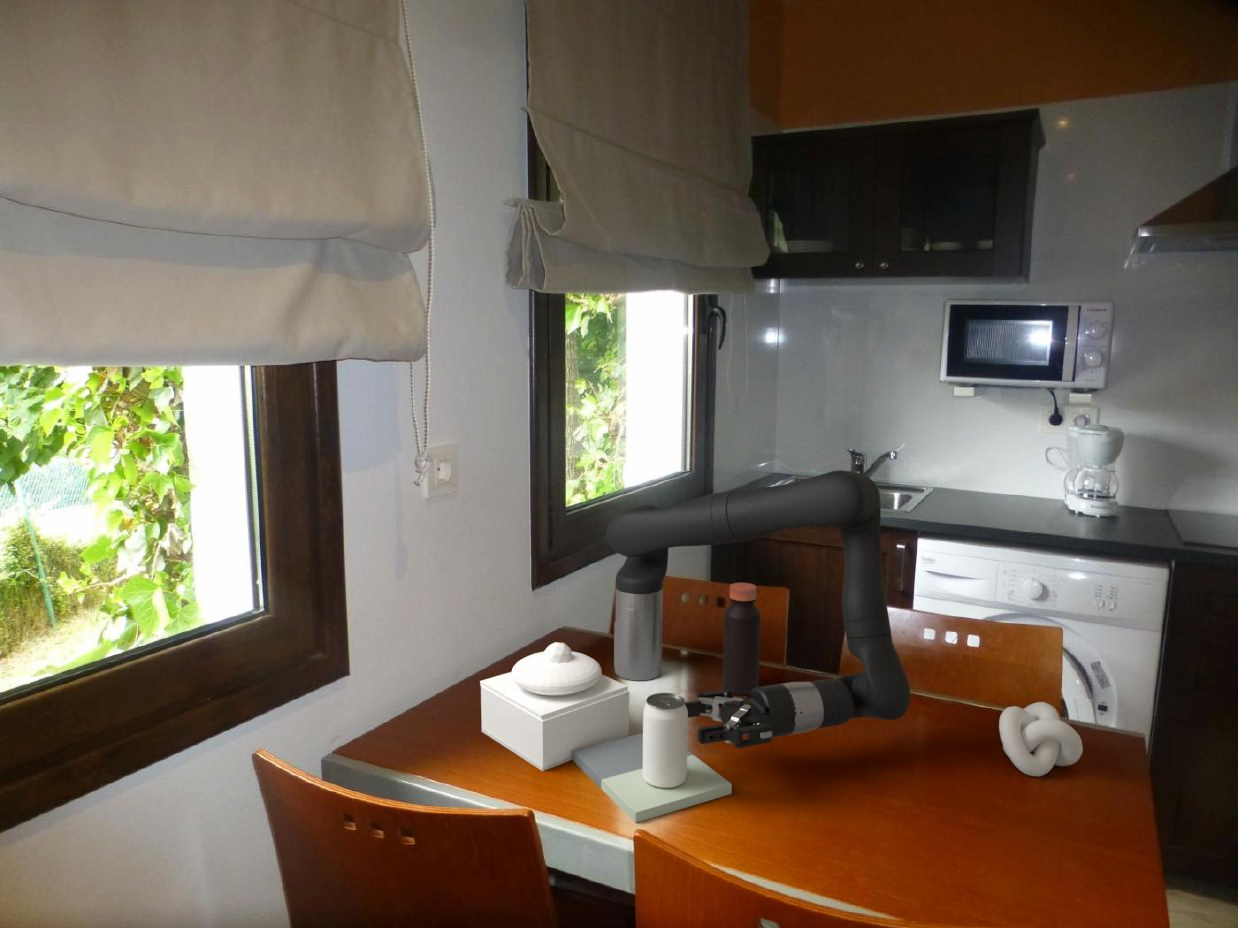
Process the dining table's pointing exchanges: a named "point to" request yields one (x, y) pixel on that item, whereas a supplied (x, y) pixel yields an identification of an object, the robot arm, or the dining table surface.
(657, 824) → the dining table surface
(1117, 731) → the dining table surface
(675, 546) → the robot arm
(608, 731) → the white lidded box
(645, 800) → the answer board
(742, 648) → the bottle
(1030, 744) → the white decorative knot
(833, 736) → the dining table surface
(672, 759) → the can
